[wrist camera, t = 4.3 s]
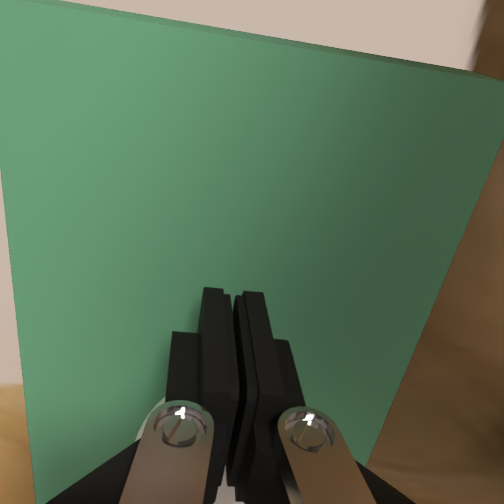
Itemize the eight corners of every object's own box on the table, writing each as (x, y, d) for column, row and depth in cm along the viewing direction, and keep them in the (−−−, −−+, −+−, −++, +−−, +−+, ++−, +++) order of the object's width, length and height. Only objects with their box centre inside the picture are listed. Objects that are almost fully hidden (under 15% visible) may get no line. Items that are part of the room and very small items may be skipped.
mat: (30, -5, 12) (-69, -8, 8) (467, 70, 14) (581, 101, 10) (65, 557, 25) (35, 674, 21) (293, 557, 27) (308, 664, 23)
